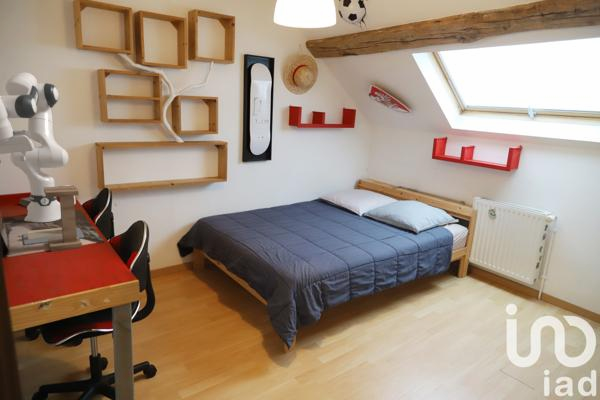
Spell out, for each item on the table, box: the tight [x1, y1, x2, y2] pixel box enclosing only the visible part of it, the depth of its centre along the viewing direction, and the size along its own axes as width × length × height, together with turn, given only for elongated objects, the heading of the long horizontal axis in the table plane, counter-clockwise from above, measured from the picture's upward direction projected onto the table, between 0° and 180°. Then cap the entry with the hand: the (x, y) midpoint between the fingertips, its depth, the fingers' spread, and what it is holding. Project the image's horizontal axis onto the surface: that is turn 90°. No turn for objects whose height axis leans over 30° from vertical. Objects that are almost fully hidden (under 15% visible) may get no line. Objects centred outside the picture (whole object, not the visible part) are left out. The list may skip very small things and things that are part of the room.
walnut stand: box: [44, 185, 83, 252], centre depth 183 cm, size 12×12×26 cm
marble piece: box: [19, 196, 31, 208], centre depth 248 cm, size 17×15×4 cm
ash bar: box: [26, 226, 78, 239], centre depth 195 cm, size 3×20×3 cm, turn 126°
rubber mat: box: [22, 227, 85, 246], centre depth 196 cm, size 16×24×1 cm, turn 125°
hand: (11, 161), depth 182 cm, fingers open, 8 cm apart
